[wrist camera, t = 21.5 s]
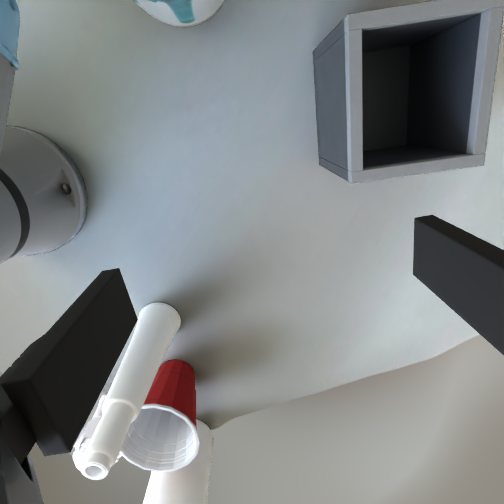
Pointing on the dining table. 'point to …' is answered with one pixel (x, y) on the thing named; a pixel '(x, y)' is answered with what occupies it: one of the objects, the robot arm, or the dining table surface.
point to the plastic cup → (165, 422)
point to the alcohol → (184, 477)
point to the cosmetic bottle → (130, 386)
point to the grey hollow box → (407, 89)
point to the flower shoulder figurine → (88, 435)
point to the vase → (181, 10)
